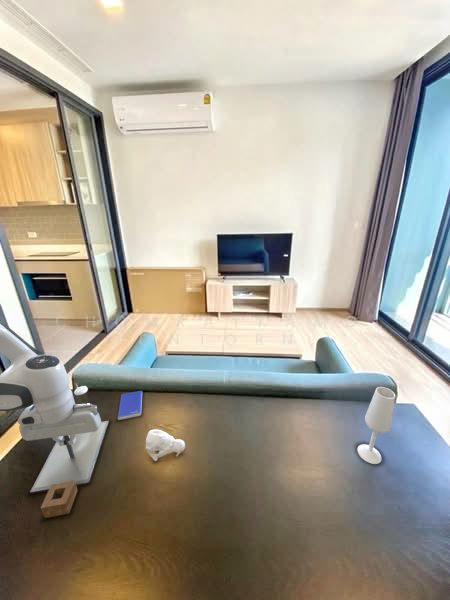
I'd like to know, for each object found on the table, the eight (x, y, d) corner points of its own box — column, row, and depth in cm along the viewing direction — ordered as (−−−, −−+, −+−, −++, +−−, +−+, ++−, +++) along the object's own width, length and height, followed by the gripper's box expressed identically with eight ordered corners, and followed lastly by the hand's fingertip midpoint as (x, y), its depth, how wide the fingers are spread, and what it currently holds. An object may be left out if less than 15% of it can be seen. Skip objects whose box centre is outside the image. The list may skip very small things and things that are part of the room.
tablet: (30, 494, 68) (29, 491, 68) (64, 428, 89) (63, 426, 88) (89, 484, 71) (88, 481, 70) (109, 422, 91) (108, 420, 91)
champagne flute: (385, 455, 78) (403, 393, 70) (376, 468, 74) (394, 405, 66) (363, 440, 83) (377, 381, 75) (353, 452, 79) (367, 391, 71)
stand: (44, 518, 63) (40, 508, 62) (55, 494, 68) (51, 484, 67) (69, 513, 64) (65, 503, 63) (77, 490, 69) (74, 480, 68)
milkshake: (87, 400, 102) (82, 380, 98) (94, 406, 99) (88, 385, 95) (75, 407, 98) (69, 386, 95) (82, 413, 95) (76, 392, 92)
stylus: (69, 458, 77) (58, 424, 72) (70, 455, 78) (60, 420, 73) (73, 458, 77) (62, 423, 72) (75, 454, 78) (64, 420, 73)
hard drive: (140, 412, 93) (141, 390, 105) (117, 416, 91) (121, 394, 103) (141, 415, 94) (142, 393, 105) (118, 420, 92) (121, 397, 103)
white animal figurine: (148, 424, 79) (186, 425, 80) (149, 443, 82) (185, 444, 83) (143, 441, 73) (184, 442, 74) (144, 462, 76) (183, 463, 77)
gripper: (99, 395, 75) (107, 429, 80) (24, 404, 72) (37, 439, 77) (92, 411, 69) (101, 447, 74) (10, 421, 66) (25, 458, 71)
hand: (68, 443), depth 76 cm, fingers closed on stylus, 1 cm apart
